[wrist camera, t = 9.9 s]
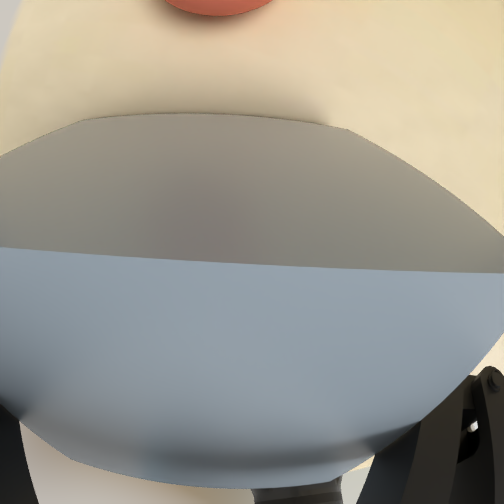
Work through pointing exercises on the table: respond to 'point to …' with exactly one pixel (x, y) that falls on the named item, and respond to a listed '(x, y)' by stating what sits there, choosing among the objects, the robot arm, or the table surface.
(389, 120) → the table surface
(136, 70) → the table surface
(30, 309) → the block
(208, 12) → the ball
